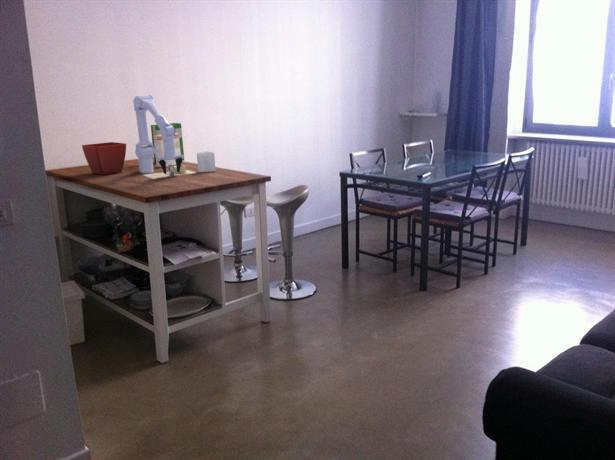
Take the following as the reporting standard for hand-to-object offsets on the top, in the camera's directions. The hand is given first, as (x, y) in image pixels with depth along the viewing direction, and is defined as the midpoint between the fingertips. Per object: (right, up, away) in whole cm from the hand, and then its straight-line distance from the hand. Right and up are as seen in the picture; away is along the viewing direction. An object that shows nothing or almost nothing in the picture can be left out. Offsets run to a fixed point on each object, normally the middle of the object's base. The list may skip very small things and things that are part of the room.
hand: (171, 172), depth 331 cm
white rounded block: (+17, +1, +12) cm, 21 cm away
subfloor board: (-2, -1, +6) cm, 6 cm away
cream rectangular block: (+1, +1, +9) cm, 9 cm away
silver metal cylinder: (0, -1, 0) cm, 1 cm away
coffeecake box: (-11, +8, +43) cm, 46 cm away
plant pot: (-43, +2, +24) cm, 50 cm away
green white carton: (-15, +13, +62) cm, 65 cm away
